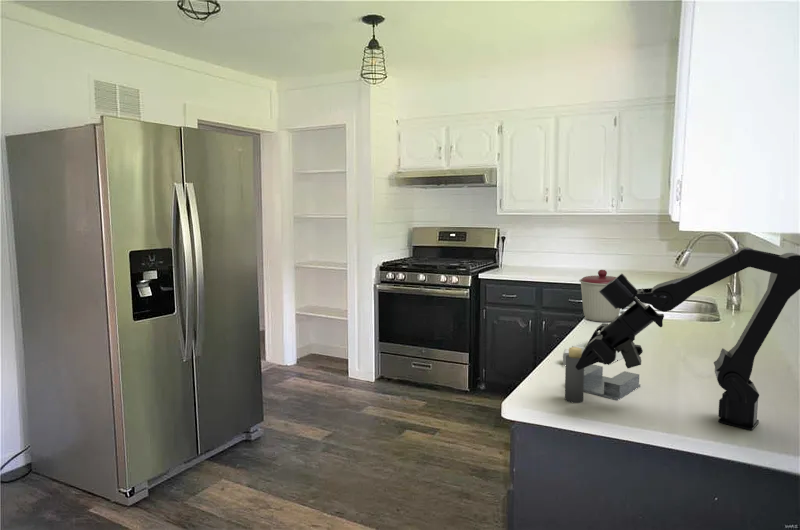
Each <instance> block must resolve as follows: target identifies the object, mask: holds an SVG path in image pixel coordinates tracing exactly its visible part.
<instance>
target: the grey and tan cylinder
mask: <svg viewBox="0 0 800 530" xmlns="http://www.w3.org/2000/svg"><path fill="white" fill-rule="evenodd" d="M568 349H569V355H566V366H565V373H564V374H565V376H564V377H565V379H564V400H565V401H566V402H568V403H572V402H573V404H574V403H575V404H579V403H583V402H584V392H583V391H584V368H583V369H580V370H577V368H576V367H575V366H576V365H577V363H578V361H579V359H580V358H581V356H582V349H581V348H577V347H572V346H571V347H569V348H568Z"/></svg>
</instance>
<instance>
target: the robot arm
mask: <svg viewBox="0 0 800 530" xmlns="http://www.w3.org/2000/svg"><path fill="white" fill-rule="evenodd" d="M747 268H753V269H756V270H761V271H764V272H768V273H770V275H769V277H768V283H767V289H766V291H765V292H764V294H763V296H762V298H761V300H760V302H759V303H758V305H757V307H756V308H755V310H754V311H753V314H751V317H750V318H749V321H748V323H747V324H746V326H745V328H744V329H743V331H742V333H741V335H740V336H739V338H738V340H737V342H736V343H735V345H734V346H733V347H731V349H730V350H726V349H725V348H721V351H720V353H719V356H718V358H717V359H716V360H714V362H713V364H714V374H715V378H716V381H717V383H718V385H719V386H720V388H721V389H723V390H725V391H723V393H722V395H721V396H722V397H720V399H718V413H717V414H718V415H717V416H718V418H719V419H718V423H721V424H725V425H729V426H733V427H736V428H740V429H745V430H748V431H752V430H754V429H755V427H756V426H757V425H759V423H760V420H759V419H758V408H759V398H760V394H759V391H758V390H757V388H756V386H755V384H754V382H753V381H752V380H751V379H750V378H751V375H752V372H753V366H754V364H755V363H754V362H755V358H756V355H757V354H758V352H759V350H760V348H761V347H762V346H763V343H764V341H765V340H766V338H767V336H768V335H769V333H770V332H771V329H772V328H773V326H774V325H775V323H776V321H777V319H778V318H779V316H780V314H781V313H782V311H783V310H784V307H785V306H786V304H787V302H788V301H789V300H790V298H791V297H792V296H794V295H795V294H796V293H797V292H798V291H800V254H798V253H794V252H786V253H783V254H777V253H774V252H773V253H771V252H768V251H761V250H757V249H753V248H751V247H748V246H747V247H746V246H745V247H744V246H743V247H740V248H739V249H738V250H736V251H735V252H733V253H731V254H729V255H727V256H725V257H723V258H720V259H719V260H717V261H714V262H712V263H710V264H708V265H706V266H704V267H703V268H700V269H698V270H697V271H694V272H692V273H691V274H688V275H686V276H682V277H680V278H674V279H670V280H667V281H663V282H661V283H658V284H655V285H654V286H653V287H648V288H643V287H642V288H636V287H635V285H633V283H631V281H630V280H628V278H627V277H626V276H625V275H624V274H623V273H621V274H619V275H618V276H615V277H616V278H615V279H614V280H613V281H610V282H609V283H608V284H606V285H605V286H604V287H603V288H602V289H601V290H600V291H599V292H600V293H601V294H602V295H603V296H604V298H605V299H606V300H607V301H608V302H609V303H610V304H611V305H612V306H613V307H614V308H615V309H617V308H619V309H620V310H622V311H623V310H625V309H626V308H627V307H628V308H627V309H626V310H625V311H623V312H622V313H621V314H619V316H617V317H616V318H615V319H614V320H613V321H611V322H609V323H606V322H601V324H599V326H597V327H596V329H595V330H594V331H593V333H592V335H591V337H590V338H589V339H590V340H589V339H588V340H589V342H588V344H587V346H586V347H585V349H584V351H583V353H582V356H581V358H580V359H579V361H578V363H577V365H576V366H575V367H576V368H577V370H580V369H583V368H585V367H587V366H590V365H592V364H593V365H595V364H597V363H600V364H603V365H612V364H613V363H612V362H613V361H615V359H616V351H617V352H618V353H619V352H620V351H621V354H622V356H623V358H622V359H623V361H624V363H625V367H626V368H627V369H631V368H635V367H637V366H641V365H642V357H641V355H642V354H643V353H644V352H643V351H644V349H643V348H642V346H641V345H640V344H635V342H634V341H635V340H636V336H637V335H638V334H640V333H641V332H642V331H643V330H645V329H646V328H648V327H649V326H650V325H651V324H653V323H655V324H656V325H657V327H659V328H662V327H663V321H664V318H665V314H664V312H665V313H666V312H669V311H670V312H671V311H672V310H673V309H675V308H676V307H678V306H679V305H681V304H682V303H684V302H685V301H686V300H687V299H689V298H690V297H692V295H694V294H696V293H697V292H699V291H701V290H703V289H705V288H707V287H709V286H712V285H714V284H715V283H718V282H720V281H722V280H724V279H726V278H728V277H730V276H733V275H735V274H737V273H739V272H742V271H743V270H745V269H747ZM633 302H635V303H634V304H632V303H633ZM644 304H647V305H644ZM630 305H631V306H630ZM629 306H630V307H629ZM656 310H657V311H658V312H663V313H658V312H657V311H656ZM614 348H615V349H614ZM611 363H612V364H611Z"/></svg>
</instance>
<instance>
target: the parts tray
mask: <svg viewBox="0 0 800 530" xmlns="http://www.w3.org/2000/svg"><path fill="white" fill-rule="evenodd" d="M589 340H590V338H589V339H585V340H584V341H582V342H578V343H576V344H573V345H571V347H577V348H581V349H582V353H583V351H584V349H585V348H584V347H585V343H587V342H589ZM614 349H615V348H614ZM622 359H624V358H623V356H622V354H621V351H620V352H619V353H618V352H617V351H616V359H615V361H616V362H618V361H621V360H622ZM617 360H618V361H617ZM615 361H613V362H614V363H616V362H615ZM613 362H612V364H614V363H613Z"/></svg>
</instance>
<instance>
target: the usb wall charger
mask: <svg viewBox="0 0 800 530" xmlns="http://www.w3.org/2000/svg"><path fill="white" fill-rule="evenodd" d="M566 355H569V348H564V351H563V354H562V365H563V366H565V365H566Z"/></svg>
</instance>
